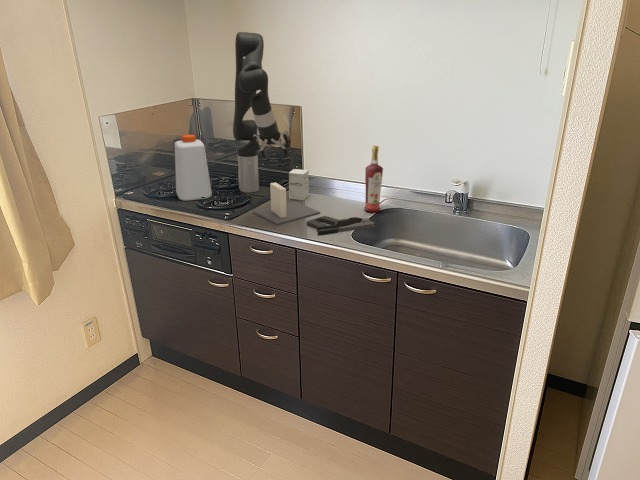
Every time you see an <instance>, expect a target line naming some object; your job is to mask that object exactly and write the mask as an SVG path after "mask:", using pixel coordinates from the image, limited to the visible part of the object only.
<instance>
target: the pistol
mask: <svg viewBox="0 0 640 480" xmlns="http://www.w3.org/2000/svg"><path fill="white" fill-rule="evenodd" d="M306 226H307V227H309V228H312V229H315V230H316V232H317V236H324V235H331V234H338V233H341V232H348V231H349V232H350V231H356V230H363V229H371V228H375V226H376V222H375V221H372V220H370V218H368V217H365V218H361V217H356V216H354V217H352V216H351V217H349V218H342V219H338V218H334V217H331V216H327V215H323V216H322V215H321V216H319V217H315V218H312V219H309V220H307V221H306Z"/></svg>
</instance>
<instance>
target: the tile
mask: <svg viewBox="0 0 640 480" xmlns="http://www.w3.org/2000/svg"><path fill="white" fill-rule="evenodd" d="M269 185H270V191H269V192H270V207H271V211H273V212H274V213H275V214H277V215H278V216H279V217H281V218H282V217H286V215H287V204H286V203H287V188H285V187H283V186H282V185H281V184H279V183H277V182H271V183H270V184H269Z"/></svg>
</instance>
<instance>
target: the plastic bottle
mask: <svg viewBox="0 0 640 480" xmlns="http://www.w3.org/2000/svg"><path fill="white" fill-rule="evenodd" d="M196 138H197V136H196V134H184V135H183V134H182V136H181V140H177V141H175V142H174V161H175V162H174V165H175V190H176V191H175V192H176V195H177V197H178V199H179V200H181V201H185V202H189V201H197V200H205V199H209V198H211V197H212V195H213V192H212V187H211V180H210V172H209V166H208V160H207V154H206V146H205V144H204V143H203V141H201V140H200V139H196ZM201 197H205V198H201Z"/></svg>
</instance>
